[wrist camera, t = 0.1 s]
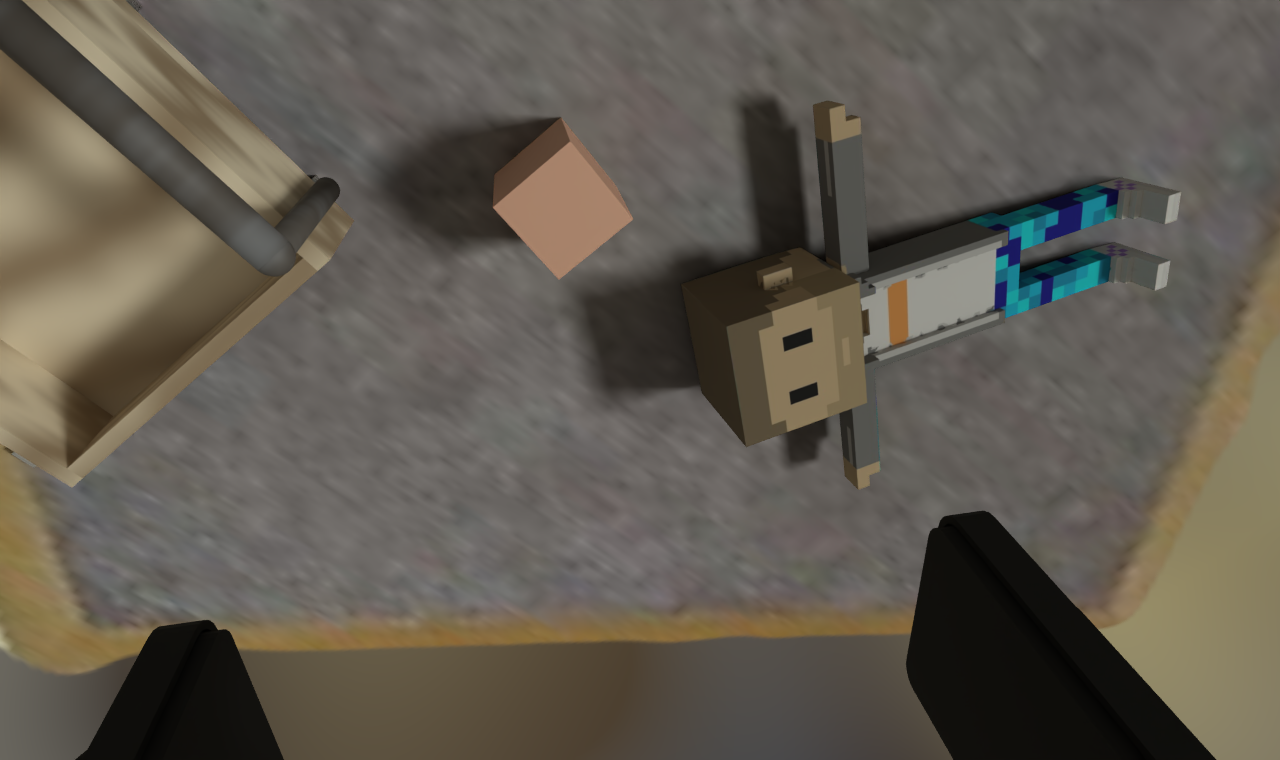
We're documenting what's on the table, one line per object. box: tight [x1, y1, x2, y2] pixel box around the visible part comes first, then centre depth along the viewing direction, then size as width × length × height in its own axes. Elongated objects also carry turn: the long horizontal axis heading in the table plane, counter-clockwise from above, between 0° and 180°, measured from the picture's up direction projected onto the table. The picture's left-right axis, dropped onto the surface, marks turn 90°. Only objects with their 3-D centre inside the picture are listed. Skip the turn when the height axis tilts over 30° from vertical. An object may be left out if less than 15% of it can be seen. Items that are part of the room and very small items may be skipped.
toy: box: [681, 101, 1181, 490], centre depth 48 cm, size 26×8×30 cm
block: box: [493, 118, 633, 279], centre depth 41 cm, size 5×5×7 cm
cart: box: [0, 0, 354, 487], centre depth 33 cm, size 16×19×15 cm
